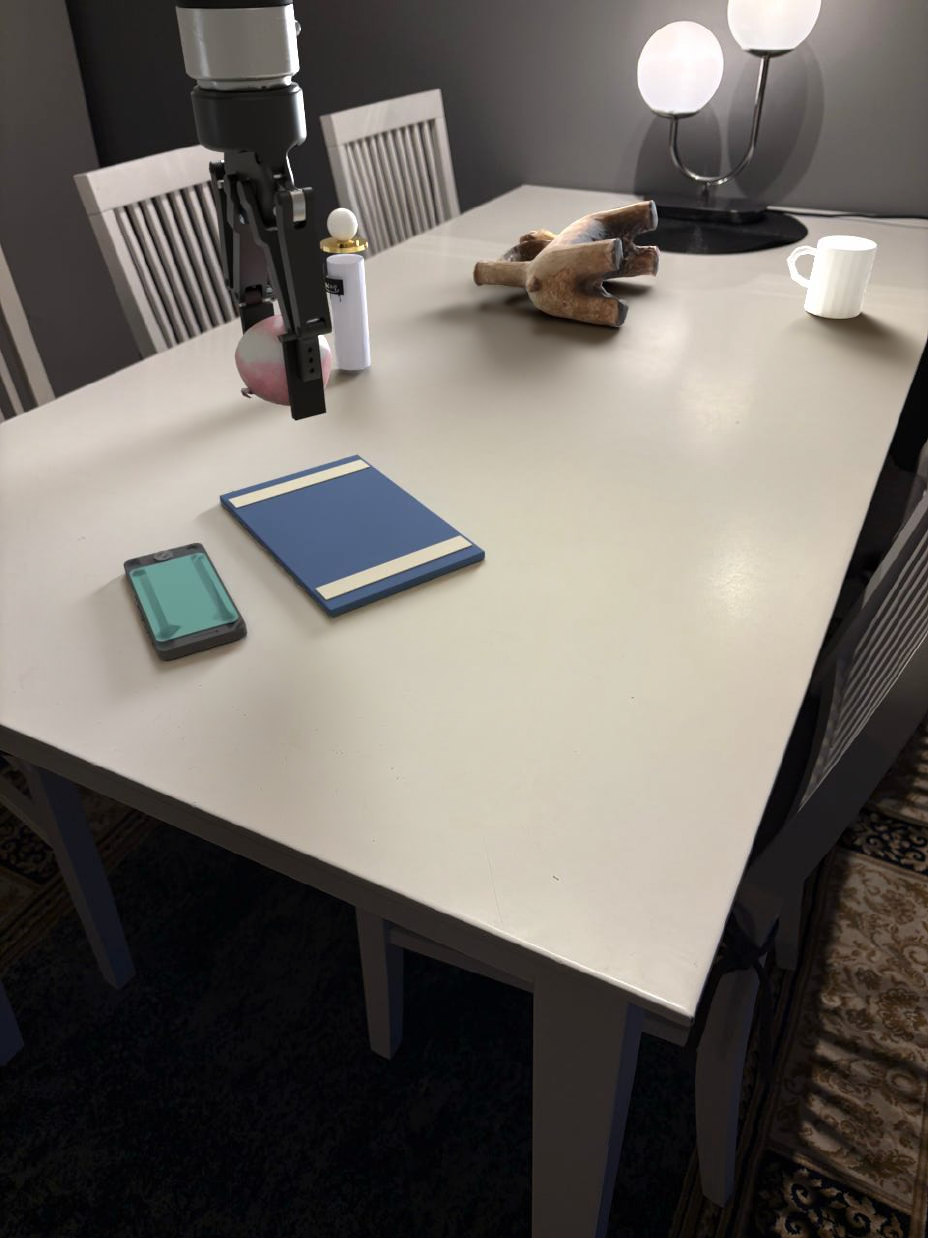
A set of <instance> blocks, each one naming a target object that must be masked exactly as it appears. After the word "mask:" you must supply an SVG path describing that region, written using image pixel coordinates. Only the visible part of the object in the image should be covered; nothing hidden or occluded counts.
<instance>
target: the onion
mask: <svg viewBox="0 0 928 1238" xmlns="http://www.w3.org/2000/svg"><path fill="white" fill-rule="evenodd" d="M285 333H286V330H285V326H284V323H283V319H282V315H281V314H276V315H275V316H272V317H269V318H266V319H264V320H262V321H260V322H258V323H257V324H255V325H254V326H253V327H251V328H250V329H248V330H247V331H246V332H245V334H244V335H243V334H242V337H240V339H239V341H238V342H237V346H236V348H235V352H234V360H235V366H236V369H237V372H238V374H239V377H240V379H241V381H242V382H243V383H244V385H245V386H246V387H242V388H241V389H240V392H241V394H242V396H243V397H245V398H248V399H252V397H251V396H250V395H252V396H253V395H255V396H256V397H258V398H260V399H261V400H263V401H265V402H269V403H271V404H275V405H280V406H283V407H290V401H289V393H288V385H287V378H286V370H285V362H284V355H283V347H282V343H280V341H279V339H278V337H277V336H279V335H282V334H285ZM318 338H319V347H320V357H321V366H322V376H323V385H324V389H326V386H327V384H328V382H329V378H330V374H331V369H332V351H331V348H330V346H329V343H328V341H327V339H326V337H325V336H324V335H320V336H318Z"/></svg>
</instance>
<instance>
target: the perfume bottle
mask: <svg viewBox="0 0 928 1238" xmlns="http://www.w3.org/2000/svg"><path fill="white" fill-rule="evenodd" d="M327 217H328V218H327V221H326V227H327V230H328V233H329V234H330V237H326V238H323V239H321V240H320V242H319V248H320V250H322V251H323V252H327V253H332V254H333V255H330V256H328V257H327V258H326V268H327V275H326V273H325V266H324V265H322V267H323V273H324V279H325V285H326V292H327V294H329V300H330V302H329V303H330V314H331V323H332V333H333V334H332V336H333V345H334V355H335V366H336V368H338V369H341V370H344V371H360V370H363V369H366V368H369V366H370V365H371V362H372V361H371V348H370V334H369V318H368V304H367V302H368V301H367V289H366V275H365V274H366V273H365V258H364V256H362V255H359V254H356V253H358V252H362V251H365V250H367V248H368V246H369V243H368V240H367V239H366V238H365V237H362V236H361V237H360V236H356V233H357V232H358V231H357V230H358V220H357V217H356V216H355V214H354V212H353V211H351V210H350V209H348V208H346V207H345V208H344V207H338V208H335V209H334V210H332V211H331V212H330V213H329V215H328V216H327Z"/></svg>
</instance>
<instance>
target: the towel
mask: <svg viewBox="0 0 928 1238" xmlns="http://www.w3.org/2000/svg"><path fill="white" fill-rule="evenodd" d="M219 502H220V504H222V505H223V507H224V508H226V509H227V510H228V512H229V513H230V514H231V515H232V516H233V517H234V518H235V519H236V520H237V521H238V522H239V524H241V525H242V526H243V528H245V529H246V530H247V532H249V534H250V535H251V536H252V537H253V538H254V539H255V540H256V541H257V542H258V543H259V544H260V545H261V546H262V547H263V548H264V549H265V550H266V551H267V552H268V553H269V555H270V556H271V557H272V558H273V559H274V560H275V561H276V562H277V563H278V564H279V565H280V567H282V568H283V569H284V570H285V571H286V572H287V573H288V575H290V576H291V577H292V578H293V579H294V580H295V582H296V583H297V584H298V585H299V586H300V587H301V588H302V589H303V590H304V591H305V592H306V593H307V594H308V595H309V596H310V597H311V598H312V599H313V600H314V601H315V603H317V604H318V605H319V606H320V608H321V609H322V610H323V611H325V613H326V614H327V615H328V616H329V618H334V617H337V616H340V615H342V614H345V613H347V612H350V611H353V610H355V609H358V608H360V607H363V606H365V605H368V604H372V603H374V602H376V601H378V600H381V599H384V598H386V597H389V596H391V595H394V594H396V593H399V592H402V591H405V590H408V589H409V588H412V587H415V586H418V585H420V584H422V583H426V582H428V581H430V580H433V579H435V578H438V577H440V576H443V575H445V574H448V573H451V572H453V571H456V570H459V569H461V568H464V567H467V566H469V565H472V564H474V563H477V562H480V561H482V560H485V559H486V551H485V550H484V549H482V548H481V547H480V546H479V545H477V544H475V542H474V541H472V540H471V539H469V538H468V537H467V536H465V535H464V534H463V533H461V532H460V531H459V530H457V529H456V528H455V527H453V526H452V525H451V524H450V523H448V522H447V521H446V520H444V519H443V518H442V517H440V515H438V514H436V513H435V512H434V511H433V510H431V509H430V508H428V506H426V505H424V503H422V502H420V501H419V500H418V499H417V498H415V497H414V496H413V495H411V494H410V493H409V492H408V491H406V490H405V489H404V488H402V487H401V486H399V485H398V484H397V483H396V482H395V481H393V480H391V479H390V478H389V477H387V475H386V474H384V473H383V472H381V471H380V470H379V469H377V468H376V467H374V466H373V465H372V464H371V463H369V462H368V461H367V460H365V459H364V458H363V457H362V456H360V455H359V454H354V455H351V456H347V457H343V458H340V459H338V460H334V461H330V462H328V463H323V464H319V465H318V466H314V467H310V468H307V469H303V470H301V471H297V472H294V473H290V474H287V475H284V476H280V477H276V478H273V479H271V480H267V481H264V482H260V483H257V484H254V485H250V486H247V487H244V488H240V489H237V490H233V491H231V492H227V493H223V494H220V495H219Z"/></svg>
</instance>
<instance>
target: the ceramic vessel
mask: <svg viewBox="0 0 928 1238" xmlns="http://www.w3.org/2000/svg"><path fill="white" fill-rule="evenodd" d="M657 212H658V211H657V206H656V203H655V201H654V200H652V199H651V200H647V201H642V202H638V203H635V204H634V203H633V204H629V205H626V206H622V207H618V208H617V207H616V208H613V209H612V208H611V209H608V210H603V211H599V212H594V213H590V214H587V215H585V216H582V217H581V218H579V219H578V218H577V220H575V221H574V222H572V223H571V224H570V225H568V226H567V227H565V228H564V229H563V230H562V231H561V232H560V233H559V234H555V233H552V232H551V231H549V230H548V229H545V228H543V229H538V230H537V231H535V230H533V231H529V232H528V233H526V234H524V235H521V236H520V237H519V240H518V244H515V245H514V246H511V247H510V248H508V249H507V250H505V251H504V252H503V253H502V254H501V256H500V257H499V258H498V259H497V260H478V261H476V263H475V264H474V266H473V269H472V279H473V282H474V284H476V287H481V286H499V287H500V286H501V287H507V288H523V289H525V290H526V291H527V294H528V298H529V300H530V301H531V303H532V304H533V305H534V307H535V308H536V309H538V310H540V311H542V312H543V313H545V314H547V315H549V316H551V317H552V316H553V317H556V318H564V319H570V320H576V321H579V322H583V323H586V324H593V325H600V326H612V327H617V328H619V327H622V326H623V325H624V324H625V322H626V319H627V317H628V312H629V308H630V307H629V304H628V301H626V300H625V299H624V298H623V299H621V298H618V297H616V296H614V295H613V294H611V293H609V292H607V290H606V289H605V288H604V286H602V285H603V282H604V281H608V280H614V279H622V278H635V277H641V276H651V277H656V276H657V274H658V272H659V268H660V261H661V251H660V249H659V247H658V246H657V245H654V246H652V245H647V246H646V245H645V246H641V245H640V246H639V245H636V244H635V243H634V242H633V241H634V238H637V236H639V235H641V234H644V233H648V232H651V231H656V229H657V226H658V221H659V217H658V213H657Z"/></svg>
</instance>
